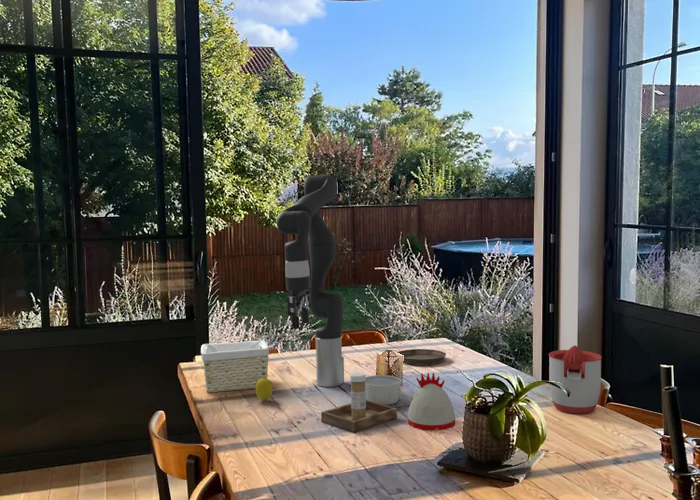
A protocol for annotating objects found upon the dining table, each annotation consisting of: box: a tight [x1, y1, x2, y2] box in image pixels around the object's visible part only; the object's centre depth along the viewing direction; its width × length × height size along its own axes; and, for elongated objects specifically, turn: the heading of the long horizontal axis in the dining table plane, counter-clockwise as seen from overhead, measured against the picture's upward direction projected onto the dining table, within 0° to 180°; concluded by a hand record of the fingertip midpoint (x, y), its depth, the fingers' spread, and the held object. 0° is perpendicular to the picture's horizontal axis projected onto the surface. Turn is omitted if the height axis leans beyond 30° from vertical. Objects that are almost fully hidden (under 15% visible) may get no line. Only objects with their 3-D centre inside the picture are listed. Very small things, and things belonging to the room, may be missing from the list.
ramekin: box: [365, 374, 402, 406], centre depth 215 cm, size 13×13×7 cm
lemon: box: [255, 377, 273, 402], centre depth 216 cm, size 6×6×8 cm
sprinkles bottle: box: [350, 372, 367, 420], centre depth 195 cm, size 5×5×13 cm
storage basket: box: [200, 339, 270, 393], centre depth 236 cm, size 24×16×15 cm
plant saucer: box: [396, 348, 447, 366], centre depth 270 cm, size 21×21×3 cm
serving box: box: [320, 400, 398, 434], centre depth 195 cm, size 18×14×3 cm
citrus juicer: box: [548, 344, 603, 415], centre depth 201 cm, size 16×17×20 cm
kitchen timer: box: [407, 372, 456, 432], centre depth 192 cm, size 14×14×15 cm
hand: (300, 325), depth 205 cm, fingers open, 8 cm apart
